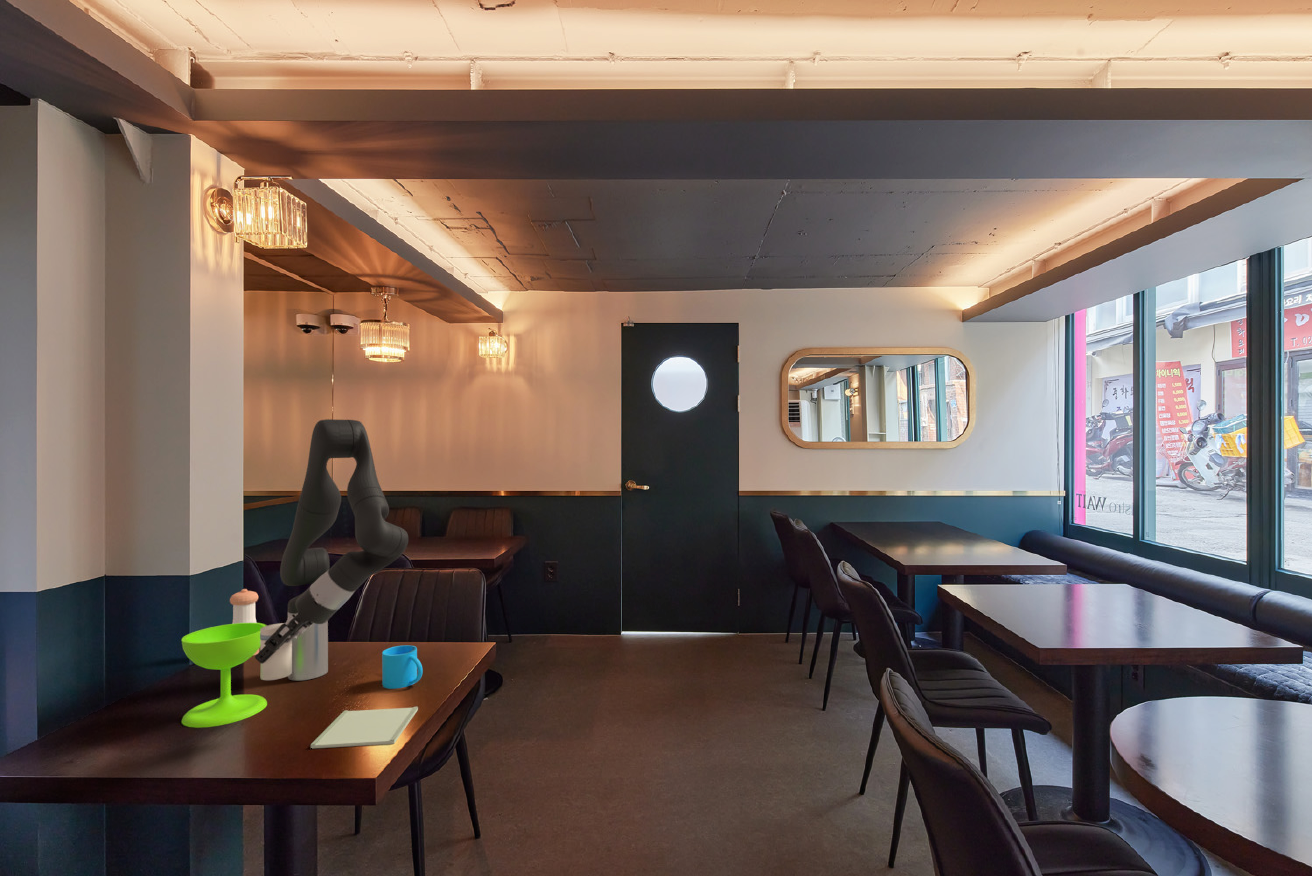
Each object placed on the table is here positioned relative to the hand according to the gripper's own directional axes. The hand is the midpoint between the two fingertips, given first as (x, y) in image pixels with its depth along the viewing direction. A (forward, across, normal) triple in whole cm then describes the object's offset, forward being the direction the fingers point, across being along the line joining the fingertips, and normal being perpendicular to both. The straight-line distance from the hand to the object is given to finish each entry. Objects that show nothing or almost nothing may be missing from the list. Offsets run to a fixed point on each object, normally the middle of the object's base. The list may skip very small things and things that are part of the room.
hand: (267, 655), depth 127 cm
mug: (-2, -26, +26) cm, 37 cm away
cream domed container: (+2, 0, +4) cm, 5 cm away
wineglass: (+23, -14, +1) cm, 27 cm away
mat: (-2, -1, +26) cm, 26 cm away
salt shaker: (+37, -56, -13) cm, 68 cm away
